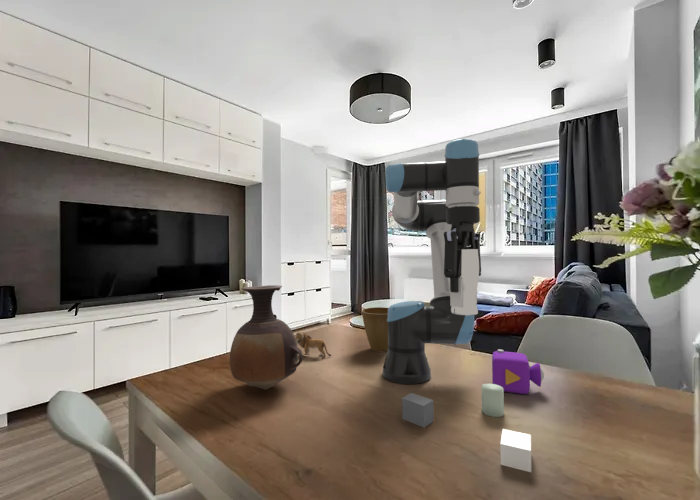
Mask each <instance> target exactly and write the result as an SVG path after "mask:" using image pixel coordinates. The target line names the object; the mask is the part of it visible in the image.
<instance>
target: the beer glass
mask: <svg viewBox="0 0 700 500" xmlns="http://www.w3.org/2000/svg"><path fill="white" fill-rule="evenodd" d="M459 250H461V249H457V251H459ZM479 277H480V276H479V257H478V249H462V268H461V275H460V278H463V307H453V306H452V307H451V313H453V314H457V315H474V316H476V315H478V314H479V310H478V305H477V304H476V291H477V292H478V289H477V288H478V284H479ZM449 280H450V278H449Z"/></svg>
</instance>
